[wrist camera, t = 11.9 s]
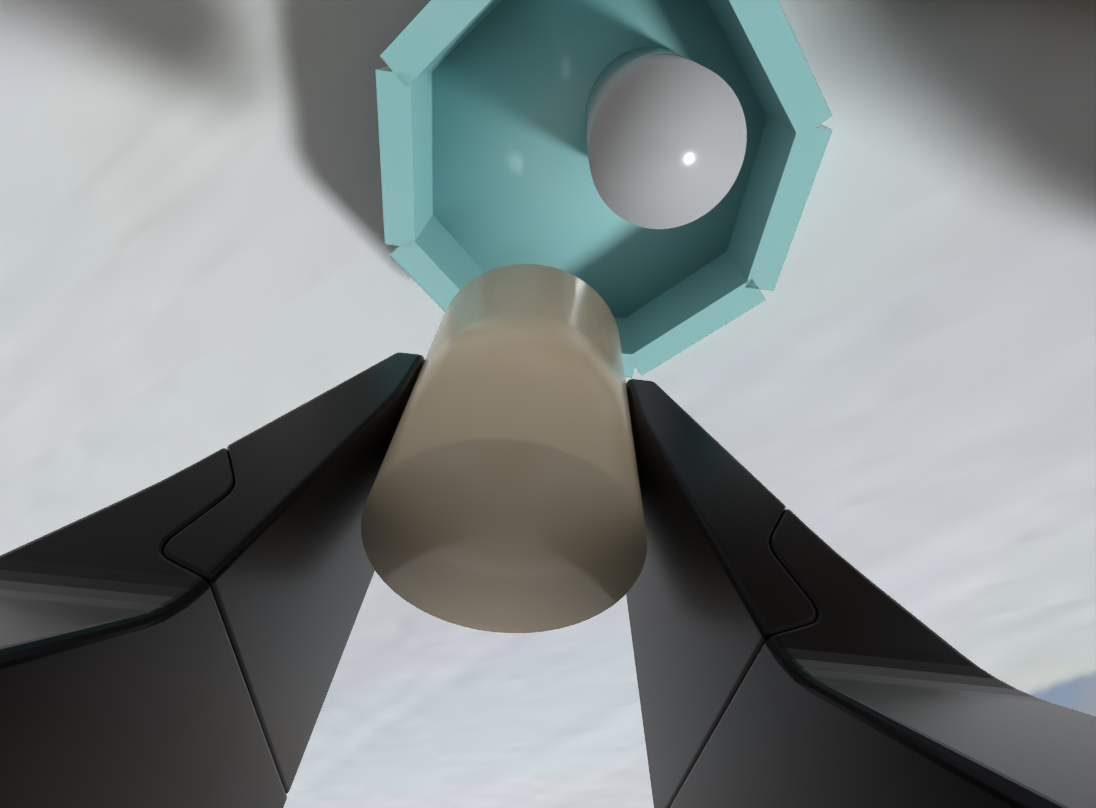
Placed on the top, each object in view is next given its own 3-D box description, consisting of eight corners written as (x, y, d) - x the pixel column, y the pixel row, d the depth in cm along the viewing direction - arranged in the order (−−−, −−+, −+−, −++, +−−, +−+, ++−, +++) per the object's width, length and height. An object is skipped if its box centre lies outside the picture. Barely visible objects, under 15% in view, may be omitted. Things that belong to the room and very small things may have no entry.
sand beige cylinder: (636, 276, 9) (678, 457, 6) (603, 431, 11) (618, 644, 7) (439, 252, 9) (347, 420, 5) (439, 412, 11) (370, 620, 7)
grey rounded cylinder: (720, 56, 15) (769, 73, 11) (687, 185, 16) (719, 237, 13) (595, 37, 14) (603, 49, 11) (577, 169, 16) (577, 218, 13)
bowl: (840, -39, 14) (897, -48, 11) (716, 342, 20) (737, 389, 18) (402, -102, 13) (364, -125, 11) (413, 306, 20) (390, 350, 17)
